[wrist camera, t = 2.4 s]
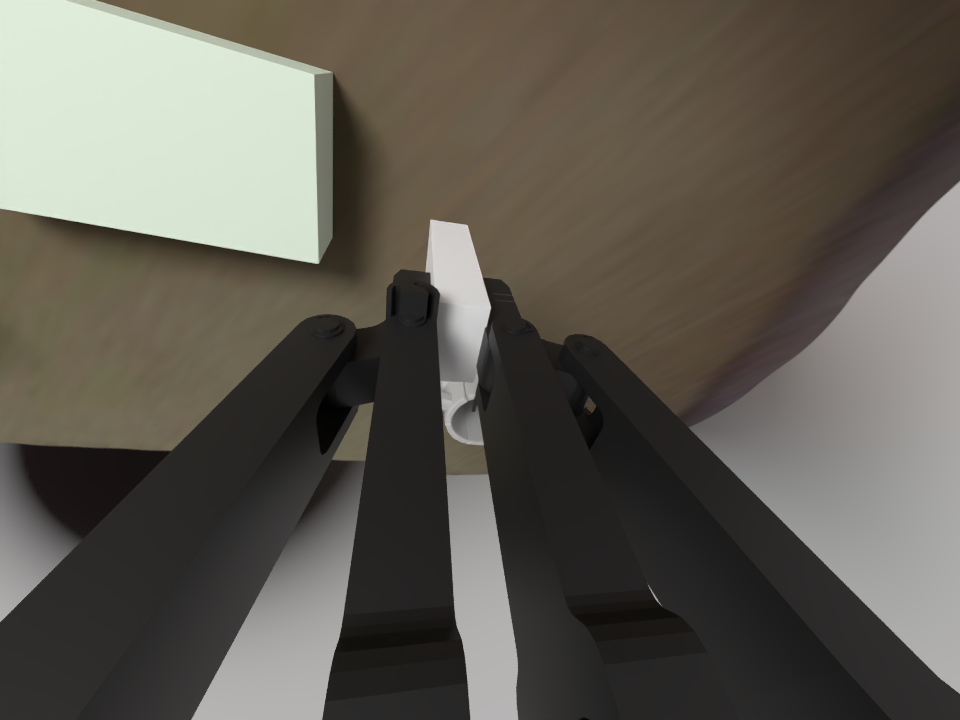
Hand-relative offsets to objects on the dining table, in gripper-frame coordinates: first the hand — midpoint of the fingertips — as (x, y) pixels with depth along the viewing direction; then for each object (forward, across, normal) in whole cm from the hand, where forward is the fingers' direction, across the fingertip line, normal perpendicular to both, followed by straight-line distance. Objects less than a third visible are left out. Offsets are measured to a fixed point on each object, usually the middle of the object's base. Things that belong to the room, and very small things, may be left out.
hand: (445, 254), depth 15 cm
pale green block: (+14, -17, +1) cm, 22 cm away
